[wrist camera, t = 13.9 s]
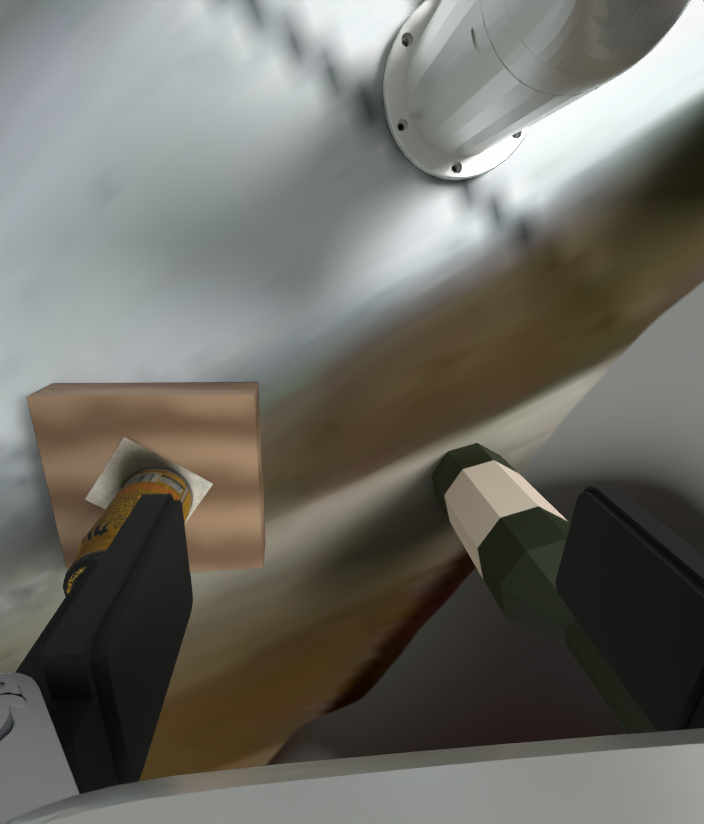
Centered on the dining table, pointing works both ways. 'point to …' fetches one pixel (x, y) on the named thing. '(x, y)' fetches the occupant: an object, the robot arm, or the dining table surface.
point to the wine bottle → (523, 560)
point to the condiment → (132, 497)
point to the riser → (169, 438)
